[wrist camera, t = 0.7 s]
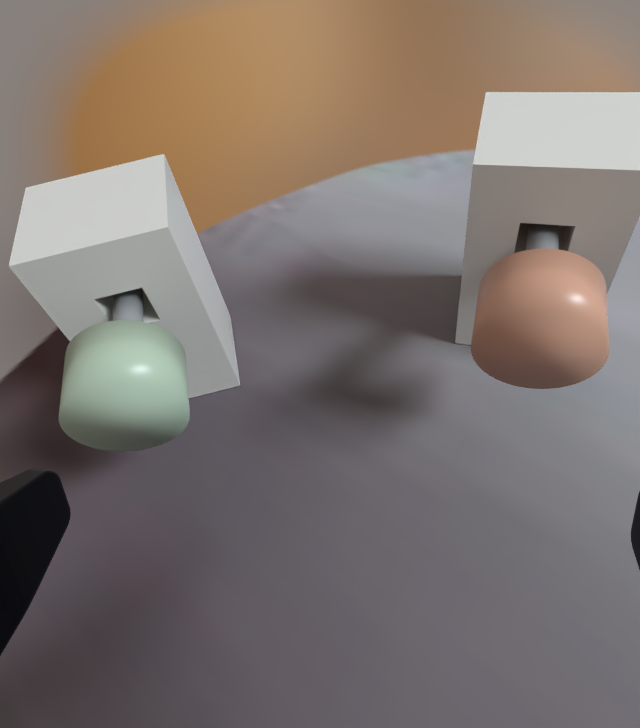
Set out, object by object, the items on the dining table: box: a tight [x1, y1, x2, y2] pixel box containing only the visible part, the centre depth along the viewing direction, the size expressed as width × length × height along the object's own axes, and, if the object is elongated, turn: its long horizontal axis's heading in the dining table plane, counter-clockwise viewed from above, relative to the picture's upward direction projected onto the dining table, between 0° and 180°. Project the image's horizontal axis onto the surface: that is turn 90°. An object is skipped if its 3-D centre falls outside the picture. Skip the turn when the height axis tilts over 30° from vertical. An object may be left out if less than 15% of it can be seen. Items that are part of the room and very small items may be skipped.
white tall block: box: [455, 92, 640, 345], centre depth 24 cm, size 5×6×10 cm
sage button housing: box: [9, 154, 240, 398], centre depth 26 cm, size 5×6×10 cm
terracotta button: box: [471, 223, 609, 389], centre depth 20 cm, size 6×4×4 cm
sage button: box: [59, 288, 190, 451], centre depth 21 cm, size 6×4×4 cm
